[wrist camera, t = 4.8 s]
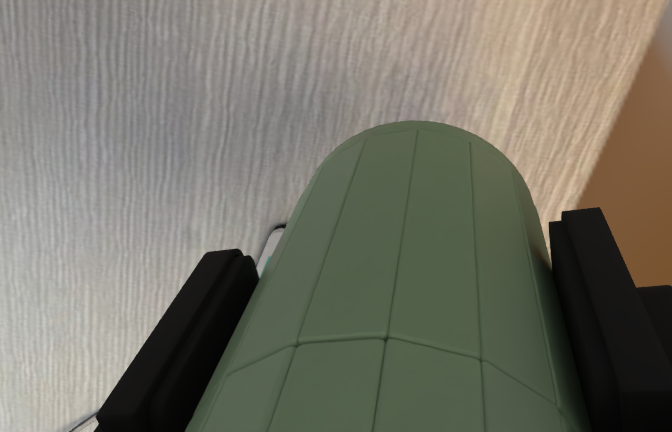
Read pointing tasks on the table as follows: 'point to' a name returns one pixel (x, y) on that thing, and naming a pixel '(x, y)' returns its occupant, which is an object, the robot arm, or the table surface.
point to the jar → (403, 301)
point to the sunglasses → (84, 423)
